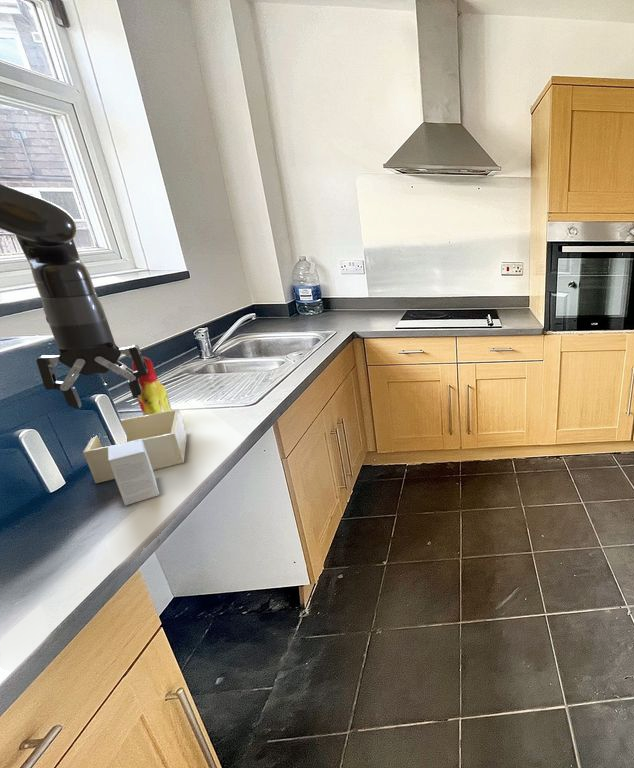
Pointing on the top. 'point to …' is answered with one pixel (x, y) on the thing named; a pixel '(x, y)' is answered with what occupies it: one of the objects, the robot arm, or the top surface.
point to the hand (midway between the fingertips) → (108, 402)
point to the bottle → (152, 392)
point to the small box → (132, 471)
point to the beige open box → (159, 438)
